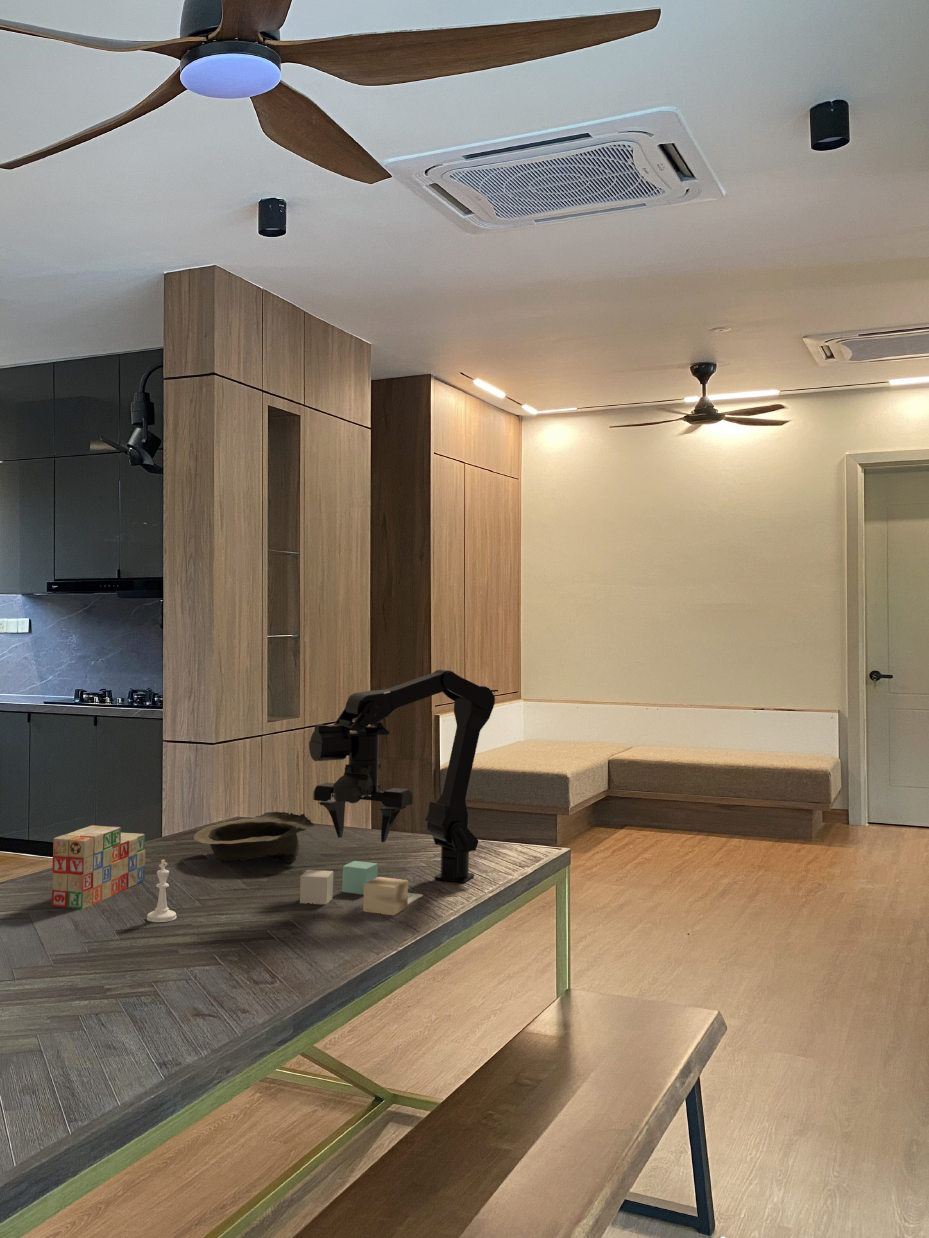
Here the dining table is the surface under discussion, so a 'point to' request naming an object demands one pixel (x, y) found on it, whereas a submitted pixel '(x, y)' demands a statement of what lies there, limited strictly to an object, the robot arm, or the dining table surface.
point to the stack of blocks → (95, 865)
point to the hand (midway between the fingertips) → (361, 839)
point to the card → (413, 897)
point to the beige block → (316, 887)
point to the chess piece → (162, 899)
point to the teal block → (358, 876)
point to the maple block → (385, 895)
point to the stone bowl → (256, 837)
